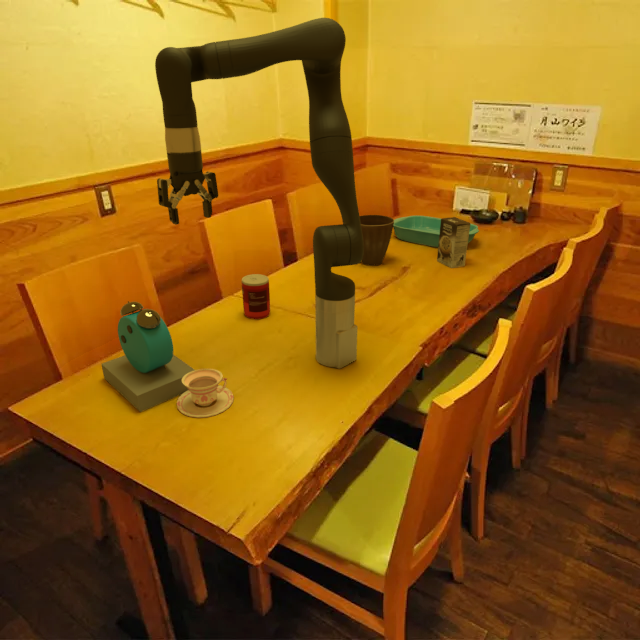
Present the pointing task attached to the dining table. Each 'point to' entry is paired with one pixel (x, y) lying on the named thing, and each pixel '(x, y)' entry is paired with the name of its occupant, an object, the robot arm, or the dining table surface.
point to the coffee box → (453, 242)
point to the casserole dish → (423, 230)
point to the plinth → (146, 381)
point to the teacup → (204, 393)
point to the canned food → (256, 296)
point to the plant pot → (375, 237)
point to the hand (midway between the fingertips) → (191, 220)
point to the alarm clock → (144, 338)
